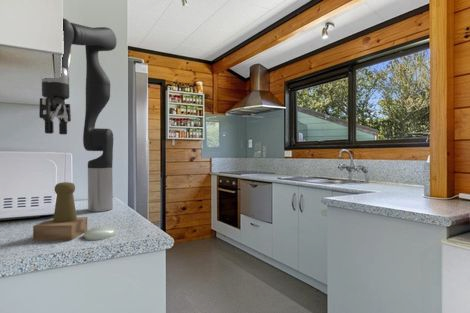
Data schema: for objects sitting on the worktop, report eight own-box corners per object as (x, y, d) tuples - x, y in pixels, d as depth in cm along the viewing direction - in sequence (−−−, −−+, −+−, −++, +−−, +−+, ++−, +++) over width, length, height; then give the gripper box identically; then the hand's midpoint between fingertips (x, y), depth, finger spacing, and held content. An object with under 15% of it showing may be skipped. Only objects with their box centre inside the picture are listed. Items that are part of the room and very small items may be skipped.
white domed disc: (91, 233, 89) (91, 227, 89) (118, 232, 90) (118, 226, 90) (79, 241, 81) (79, 234, 81) (109, 240, 82) (109, 234, 82)
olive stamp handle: (68, 222, 84) (68, 183, 84) (48, 222, 85) (47, 183, 84) (81, 217, 90) (81, 181, 90) (62, 217, 91) (62, 181, 90)
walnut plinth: (53, 230, 90) (53, 217, 90) (87, 230, 91) (87, 217, 91) (33, 240, 80) (33, 226, 80) (71, 240, 81) (71, 225, 81)
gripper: (55, 87, 102) (55, 134, 102) (29, 77, 88) (30, 133, 88) (78, 87, 102) (78, 134, 103) (56, 78, 88) (57, 133, 89)
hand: (56, 133), depth 96 cm, fingers open, 8 cm apart
